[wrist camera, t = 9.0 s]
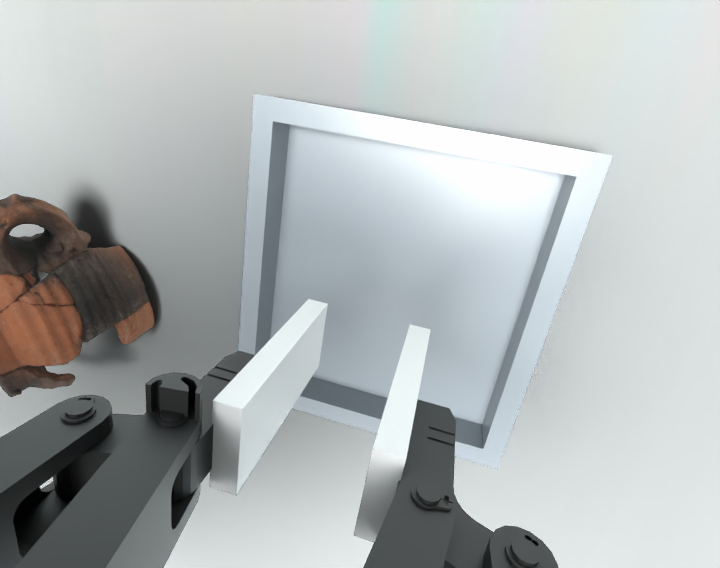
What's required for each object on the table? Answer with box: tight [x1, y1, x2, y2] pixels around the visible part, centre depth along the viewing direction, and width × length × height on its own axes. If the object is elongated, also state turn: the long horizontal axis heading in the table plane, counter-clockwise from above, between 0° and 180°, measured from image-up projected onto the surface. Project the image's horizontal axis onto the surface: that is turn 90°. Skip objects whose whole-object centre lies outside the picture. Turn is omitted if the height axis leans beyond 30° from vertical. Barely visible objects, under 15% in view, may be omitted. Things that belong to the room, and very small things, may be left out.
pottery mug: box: [0, 194, 154, 397], centre depth 25 cm, size 12×9×8 cm
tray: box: [238, 94, 613, 470], centre depth 22 cm, size 15×16×2 cm
